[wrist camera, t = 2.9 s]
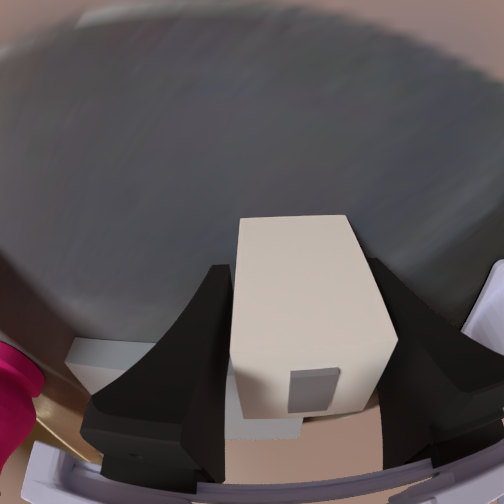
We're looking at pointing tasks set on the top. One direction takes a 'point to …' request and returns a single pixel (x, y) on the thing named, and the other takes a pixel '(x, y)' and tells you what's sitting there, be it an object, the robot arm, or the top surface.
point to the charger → (305, 319)
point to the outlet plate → (128, 353)
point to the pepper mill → (16, 398)
